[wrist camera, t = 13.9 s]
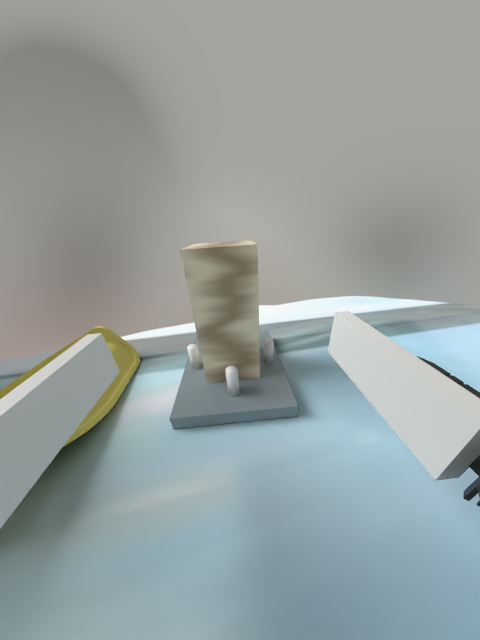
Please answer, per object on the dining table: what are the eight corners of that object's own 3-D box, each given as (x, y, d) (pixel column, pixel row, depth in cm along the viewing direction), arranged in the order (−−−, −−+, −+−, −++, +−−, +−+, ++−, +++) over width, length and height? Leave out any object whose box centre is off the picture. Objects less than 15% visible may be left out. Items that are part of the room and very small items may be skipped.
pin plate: (173, 428, 17) (161, 396, 15) (196, 345, 30) (191, 321, 28) (297, 416, 17) (301, 382, 15) (268, 338, 30) (268, 314, 28)
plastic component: (52, 355, 26) (107, 319, 25) (93, 386, 29) (144, 355, 28) (-317, 605, 8) (-150, 499, 7) (-103, 623, 11) (28, 548, 10)
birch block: (206, 382, 20) (179, 249, 14) (211, 350, 25) (193, 244, 19) (259, 378, 20) (257, 244, 14) (253, 347, 26) (249, 240, 19)
